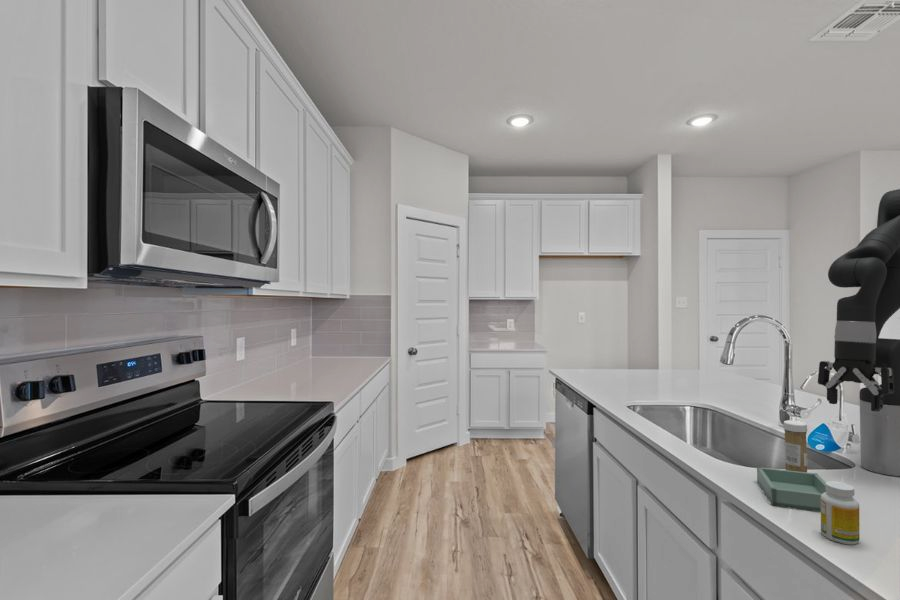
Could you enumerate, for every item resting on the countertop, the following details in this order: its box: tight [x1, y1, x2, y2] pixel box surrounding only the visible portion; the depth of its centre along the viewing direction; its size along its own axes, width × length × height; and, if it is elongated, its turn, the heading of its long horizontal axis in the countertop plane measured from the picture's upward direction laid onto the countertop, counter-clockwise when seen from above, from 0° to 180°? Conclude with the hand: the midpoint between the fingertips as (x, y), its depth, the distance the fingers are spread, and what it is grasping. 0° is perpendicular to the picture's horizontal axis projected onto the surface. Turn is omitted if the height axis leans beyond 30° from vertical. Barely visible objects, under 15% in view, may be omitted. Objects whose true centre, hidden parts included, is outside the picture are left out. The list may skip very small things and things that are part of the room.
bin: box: [756, 466, 827, 513], centre depth 100 cm, size 14×12×4 cm
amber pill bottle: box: [783, 419, 808, 473], centre depth 111 cm, size 5×5×14 cm
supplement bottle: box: [820, 480, 861, 546], centre depth 82 cm, size 5×5×10 cm
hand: (853, 407), depth 109 cm, fingers open, 8 cm apart
